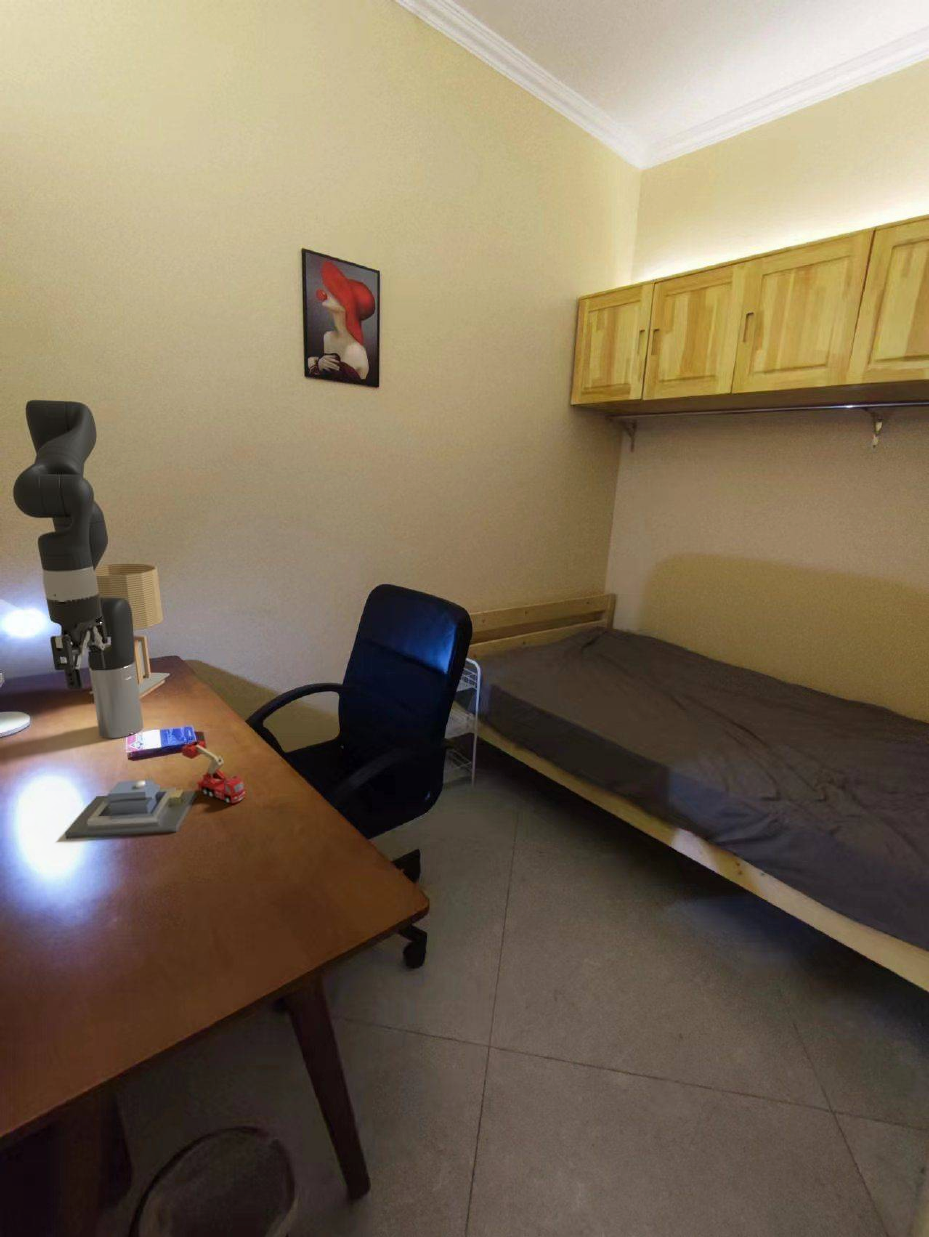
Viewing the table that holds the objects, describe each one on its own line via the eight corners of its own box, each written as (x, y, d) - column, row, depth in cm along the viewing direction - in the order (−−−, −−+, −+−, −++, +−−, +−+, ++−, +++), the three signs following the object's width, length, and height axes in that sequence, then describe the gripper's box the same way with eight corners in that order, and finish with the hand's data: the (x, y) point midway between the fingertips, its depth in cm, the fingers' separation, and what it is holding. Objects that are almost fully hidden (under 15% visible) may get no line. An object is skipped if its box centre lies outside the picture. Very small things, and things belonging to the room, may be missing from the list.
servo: (115, 805, 102) (111, 779, 100) (162, 802, 103) (158, 776, 102) (106, 818, 98) (102, 791, 96) (154, 815, 99) (150, 788, 98)
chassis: (97, 801, 105) (95, 789, 104) (196, 796, 107) (195, 784, 107) (66, 838, 94) (63, 825, 93) (176, 831, 97) (175, 818, 96)
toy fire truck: (234, 806, 105) (230, 761, 102) (185, 787, 110) (180, 745, 108) (248, 797, 108) (244, 754, 105) (199, 779, 113) (194, 738, 111)
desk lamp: (146, 705, 147) (130, 577, 138) (74, 702, 147) (53, 574, 138) (183, 678, 166) (171, 564, 157) (120, 676, 166) (104, 562, 157)
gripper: (69, 583, 100) (83, 664, 105) (24, 604, 87) (43, 696, 91) (113, 583, 101) (126, 663, 106) (76, 603, 88) (92, 694, 93)
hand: (87, 678), depth 99 cm, fingers open, 8 cm apart
